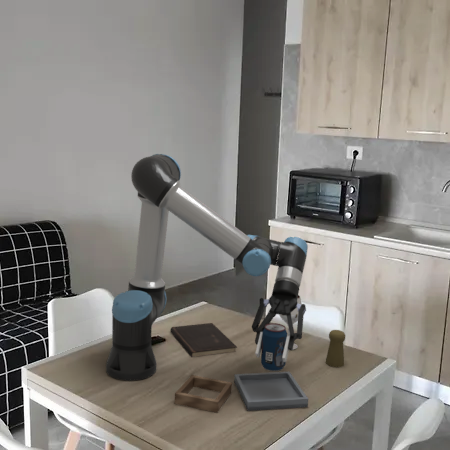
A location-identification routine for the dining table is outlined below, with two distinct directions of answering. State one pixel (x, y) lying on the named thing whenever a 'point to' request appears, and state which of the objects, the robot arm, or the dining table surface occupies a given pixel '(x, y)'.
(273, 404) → the tray
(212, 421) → the dining table surface
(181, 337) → the hardcover book
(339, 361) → the cork
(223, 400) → the can holder
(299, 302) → the wineglass
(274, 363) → the soda can
